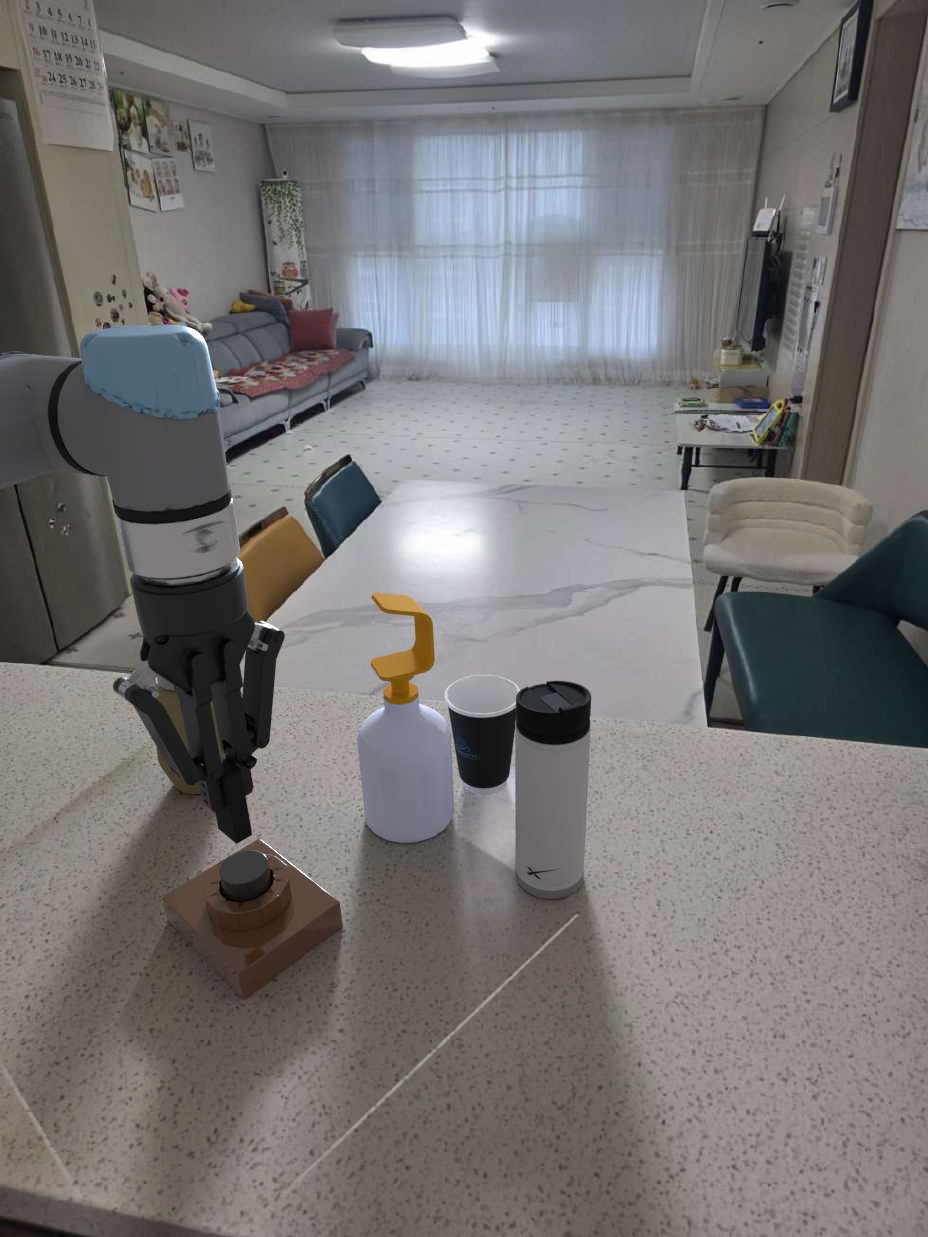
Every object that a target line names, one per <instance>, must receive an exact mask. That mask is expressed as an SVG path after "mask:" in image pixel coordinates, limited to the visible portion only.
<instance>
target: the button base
mask: <svg viewBox="0 0 928 1237" xmlns="http://www.w3.org/2000/svg"><path fill="white" fill-rule="evenodd" d="M247 850H253V851H258V852H261V853H263V854H264V855H265V856H266V857H267V859H268V863H269V869H270V875H271V885H270V887H269V889H268V890H267V892H266V893H265V894H263V895H262V896H260V897H259V898H257V899H255V900H250V901H246V902H233V901H231V900H229V899H228V898H226V896H225V895H224V893H223V889H222V884H221V879H220V874H219V870H220V867H221V865H222V863H223V862H224V861H225V860H226V859H227V858H228V857H230V856H231V855H233V854H235V853H238V852H241V851H247ZM231 855H229V856H227V857H226V858H224V859H222V860H220V861H219V862H218V863H215V864H214V865H212V866H211V867H209V868H207V869H206V870H204V871H202V872H201V873H199V874H197V875H195V876H194V877H192V878H191V879H189V880H187V881H186V882H184V883H182V884H181V885H179V886H177V887H176V888H173V890H171V891H169V892H167V893H166V894H164V895H162V897H161V900H162V903H163V907H164V912H165V916H166V919H167V923H168V924H169V925H170V926H171V927H172V928H173V929H174V930H175V931H176V932H177V933H178V934H179V935H180V936H181V938H183V939H184V940H185V941H186V942H187V943H188V944H189V945H190V947H192V949H193V950H195V952H196V953H197V954H198V955H199V956H200V957H201V958H202V959H203V960H204V961H205V962H206V963H207V965H209V966H210V967H211V968H212V969H213V970H214V971H215V972H216V973H217V974H218V975H219V977H221V978H222V979H223V981H224V982H226V983H227V985H228V986H229V987H230V988H231V989H232V990H233V991H234V992H235V993H236V994H237V995H238V996H239V997H240V998H241V999H242V1000H243V1001H246V1000H247V999H248V998H249V997H251V996H252V995H254V994H255V993H256V992H257V991H259V990H260V989H262V988H263V987H265V986H266V985H267V984H268V983H270V982H271V981H273V980H274V979H275V978H277V977H278V976H279V975H281V974H282V973H283V972H285V971H286V970H287V969H289V968H290V967H291V966H293V965H294V964H295V963H297V962H298V961H300V960H301V959H302V958H304V957H305V956H307V954H309V953H310V952H312V951H313V950H314V949H316V948H317V947H318V946H320V945H321V944H323V943H324V942H325V941H326V940H328V939H329V938H331V937H332V936H333V935H335V934H336V933H338V932H339V931H340V930H342V929H343V927H344V925H343V917H342V909H341V902H340V901H339V900H338V899H337V898H336V897H334V896H333V895H332V894H331V893H329V892H328V891H327V890H326V889H324V887H322V886H321V885H319V884H318V883H317V882H315V881H314V880H313V879H312V878H311V877H309V876H308V875H306V874H305V873H304V872H303V871H302V870H300V869H299V868H298V867H297V866H295V865H294V864H293V863H292V862H291V861H289V860H288V859H286V857H284V856H283V855H281V854H280V853H279V852H278V851H276V849H274V848H272V847H271V846H270V845H269V844H268V843H267V842H265V841H264V840H263V839H262V838H257V839H256V840H254V841H252V842H250V843H249V844H247V845H245V846H244V847H242V848H240V849H239V850H237V851H236V852H234V853H232V854H231Z"/></svg>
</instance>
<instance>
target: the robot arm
mask: <svg viewBox="0 0 928 1237" xmlns="http://www.w3.org/2000/svg"><path fill="white" fill-rule="evenodd" d="M79 354H80V358H79V357H67V356H55V355H44V354H43V355H42V354H36V353H31V354H29V353H28V352H27V351H23V350H21V351H20V350H19V351H18V350H17V351H16V350H10V351H6V352H3V353H2V352H1V353H0V490H2V489H4V488H7V487H11V486H13V485H14V486H15V485H16V484H19V483H22V482H25V481H29V480H31V479H34V478H38V477H40V476H43V475H47V474H50V473H51V474H52V473H58V472H59V473H60V472H64V473H65V472H66V473H71V474H72V473H73V474H80V475H81V474H82V475H89V476H97V477H106V479H107V483H108V486H109V489H110V493H111V497H112V500H111V501H112V507H113V510H114V514H115V518H116V523H117V527H118V532H119V537H120V543H121V548H122V552H123V557H124V562H125V567H126V569H127V570H128V571H130V572H131V573H132V575H131V577H130V580H129V583H130V587H131V592H132V597H133V602H134V605H135V611H136V616H137V619H138V624H139V627H140V630H141V633H142V644H141V646H140V650H139V658H140V661H141V662H140V663H139V664H138V666H137V667H136V668H135V669H134V670H133V672H131V674H130V675H129V676H128V677H126V676H120V677H118V678H116V679H115V680H114V682H113V684H112V689H113V691H114V692H115V693H116V694H118V695H119V696H120V697H121V698H123V699H124V700H126V701H127V702H128V703H129V704H131V705H132V706H133V708H134V710H135V712H136V713H137V715H138V716H139V718H140V720H141V722H142V724H143V725H144V727H145V729H146V730H147V733H148V734H149V736H150V737H151V740H152V741H153V743H154V745H155V746H157V747H156V749H157V748H158V750H159V752H160V753H161V755H162V757H163V759H164V760H165V762H166V764H167V766H168V767H169V769H170V770H171V771H172V772H173V773H174V774H175V775H177V776H178V777H179V778H180V779H181V780H183V781H184V782H185V783H186V784H188V785H194V784H196V783H197V782H199V787H200V791H201V794H200V798H201V801H202V803H203V804H204V805H205V806H206V807H207V808H208V809H210V811H211V812H213V813H214V814H215V819H216V824H217V829H218V830H219V831H220V832H221V833H223V834H224V835H225V836H226V837H227V838H228V839H230V840H231V841H232V842H233V843H234V844H236V845H237V844H239V843H241V842H243V841H244V840H246V839H248V838H250V837H252V836H253V831H252V825H251V824H252V823H251V819H250V818H251V817H250V812H249V807H248V801H247V796H248V795H250V794H253V791H254V781H253V776H252V769H254V768H255V766H256V765H257V762H258V759H257V757H255V756H254V755H253V754H254V753H255V752H256V751H257V750H258V749H259V750H262V749H266V747H268V745H269V744H270V740H271V730H272V729H271V728H272V716H273V704H274V692H275V683H276V682H275V681H276V669H277V659H278V657H279V653H280V651H281V649H282V646H283V643H284V641H285V637H286V635H285V632H284V631H283V630H282V629H280V628H278V627H276V626H274V625H272V624H270V623H268V622H266V621H264V620H259V621H257V622H256V620H255V618H254V617H253V615H252V614H251V612H250V611H249V609H248V608H249V596H248V590H247V583H246V576H245V575H246V574H245V569H244V564H243V562H242V561H241V560H240V559H239V558H238V556H239V555H240V554H241V547H240V540H239V533H238V526H237V521H236V520H237V519H236V514H235V507H234V500H233V494H232V488H231V485H230V478H229V472H228V465H227V457H226V456H227V455H226V448H225V440H224V439H225V438H224V429H223V422H222V412H221V403H222V401H221V394H220V392H219V389H218V387H217V384H216V383H217V382H216V379H215V375H214V370H213V366H212V361H211V356H210V351H209V346H208V344H207V342H206V340H205V338H204V337H203V336H202V335H201V333H199V332H198V331H197V330H195V329H193V328H191V327H188V326H185V325H178V324H157V325H152V324H151V325H147V324H138V325H123V326H115V327H114V326H113V327H107V328H102V329H97V330H94V331H91V332H88V333H87V334H85V335H84V336H83V337H82V338H81V340H80V343H79ZM243 659H244V666H243V676H242V670H241V664H242V661H243ZM157 674H158V675H160V676H161V677H163V678H164V679H166V680H167V681H168V682H170V683H171V684H173V687H174V690H175V692H176V694H177V695H178V698H179V702H180V707H181V712H182V717H183V722H184V727H185V732H186V737H187V742H188V747H189V752H190V754H189V752H188V750H187V748H186V746H185V744H184V743H183V741H182V739H181V737H180V735H179V733H178V731H177V730H176V728H175V726H174V724H173V722H172V720H171V719H170V717H169V715H168V713H167V711H166V710H165V708H164V706H163V705H162V704H161V703H160V702H159V701H158V700H157V699H156V698H157V697H158V696H159V694H160V693H159V691H158V690H159V688H158V686H157V682H156V679H157ZM241 689H242V690H241ZM211 701H212V702H213V707H214V712H215V718H216V723H217V728H218V734H219V739H220V744H221V750H222V752H223V753H225V756H226V758H224V757H223V756H221V757H220V753H219V748H218V742H217V737H216V731H215V726H214V720H213V715H212V709H211V704H210V702H211Z"/></svg>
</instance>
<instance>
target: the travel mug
mask: <svg viewBox="0 0 928 1237" xmlns="http://www.w3.org/2000/svg"><path fill="white" fill-rule="evenodd" d="M591 710H592V693H591V692H590V690H589V689H588V688H587V687H586V686H583V685H582V684H579V683H577V682H573V681H567V680H548V681H546V682H545V683H540V684H534V685H532V686H524V687H523V688H521V689H520V691H519V692H518V693H517V695H516V721H515V734H514V765H515V766H514V767H515V768H514V787H515V788H514V828H515V829H514V839H515V840H514V842H515V843H514V845H515V846H514V853H515V854H514V863H515V864H514V867H515V868H514V871H515V872H514V874H515V875H514V876H515V879H516V881H517V883H518V885H519V886H520V887H521V888H522V890H524V891H525V892H527V893H528V894H529V895H532V896H534V897H535V898H539V899H545V900H559V899H564V898H567V897H568V896H571V895H572V894H574V893H575V892H577V891H578V890H579V888H581V886H582V883H583V882H584V874H585V852H586V834H587V833H586V831H587V812H588V811H587V810H588V792H589V791H588V790H589V788H588V787H589V770H590V769H589V766H590V746H591V712H592V711H591Z"/></svg>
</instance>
